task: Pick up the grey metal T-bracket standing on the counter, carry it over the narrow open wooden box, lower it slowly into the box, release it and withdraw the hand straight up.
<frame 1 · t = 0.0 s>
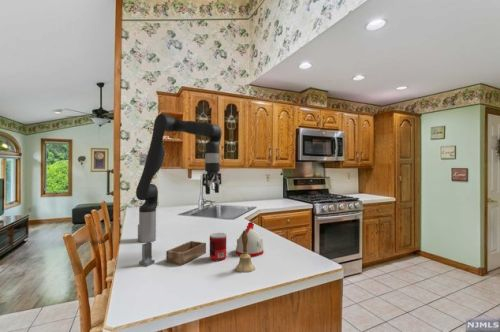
hand: (212, 193, 131), 29 cm above the counter, tool pointing down, fingers open, 8 cm apart
bracket: (146, 264, 112), on the counter
hand bell: (245, 269, 106), on the counter
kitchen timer: (249, 252, 127), on the counter
open wooden box: (187, 257, 120), on the counter
canned food: (218, 258, 119), on the counter
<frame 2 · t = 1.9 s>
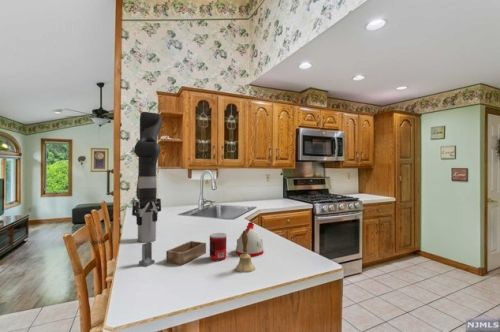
hand: (147, 223, 112), 18 cm above the counter, tool pointing down, fingers open, 8 cm apart
nothing on the counter moved.
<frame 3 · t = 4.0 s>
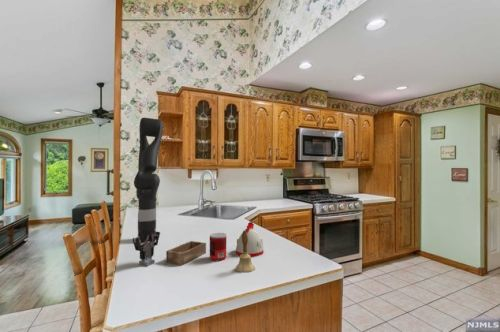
hand: (146, 257, 112), 3 cm above the counter, tool pointing down, fingers closed on bracket, 4 cm apart
bracket: (146, 263, 112), on the counter, touching gripper
everything else where it was.
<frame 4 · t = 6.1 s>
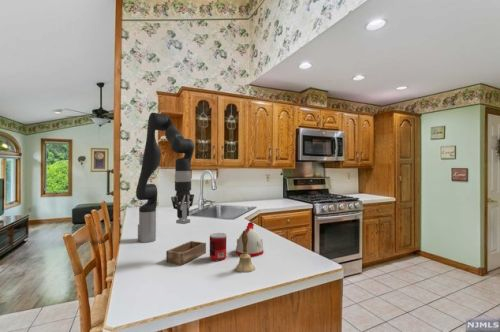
hand: (183, 216, 119), 19 cm above the counter, tool pointing down, fingers closed on bracket, 4 cm apart
bracket: (183, 222, 119), point 17 cm above the counter, touching gripper
everything else where it was.
when the fingers open (4 cm above the counter, at t = 8.7 s): bracket stays where it is, resting on open wooden box.
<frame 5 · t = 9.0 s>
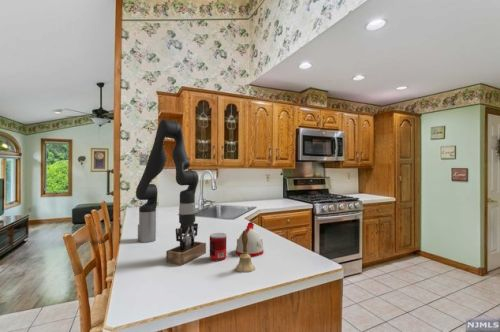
hand: (187, 247, 120), 5 cm above the counter, tool pointing down, fingers open, 6 cm apart
bracket: (187, 256, 120), point 1 cm above the counter, touching open wooden box
everything else where it was.
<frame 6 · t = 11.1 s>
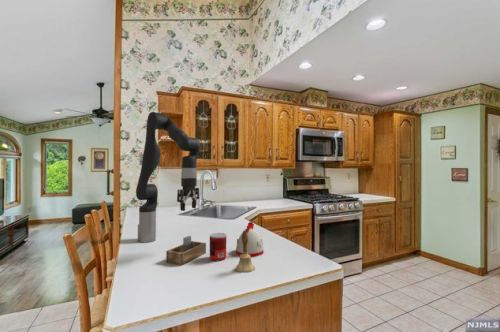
hand: (188, 209, 127), 22 cm above the counter, tool pointing down, fingers open, 8 cm apart
nothing on the counter moved.
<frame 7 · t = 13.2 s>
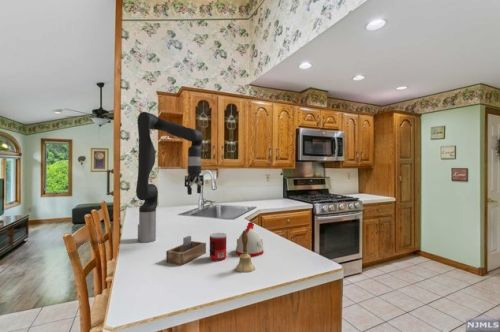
hand: (194, 193, 142), 28 cm above the counter, tool pointing down, fingers open, 8 cm apart
nothing on the counter moved.
at the end: bracket inside the target area on the open wooden box (0.1 cm from its centre), point 0.6 cm above the open wooden box's base; bracket tilted 0°; the gripper is holding nothing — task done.
